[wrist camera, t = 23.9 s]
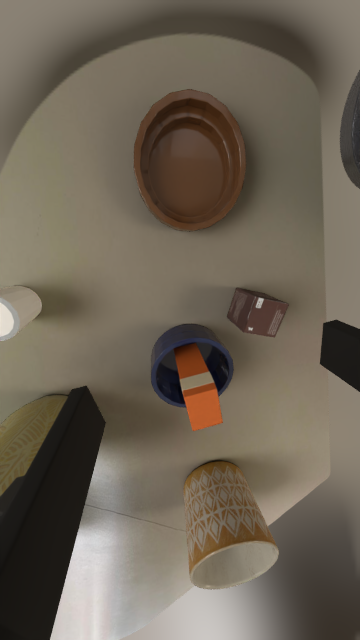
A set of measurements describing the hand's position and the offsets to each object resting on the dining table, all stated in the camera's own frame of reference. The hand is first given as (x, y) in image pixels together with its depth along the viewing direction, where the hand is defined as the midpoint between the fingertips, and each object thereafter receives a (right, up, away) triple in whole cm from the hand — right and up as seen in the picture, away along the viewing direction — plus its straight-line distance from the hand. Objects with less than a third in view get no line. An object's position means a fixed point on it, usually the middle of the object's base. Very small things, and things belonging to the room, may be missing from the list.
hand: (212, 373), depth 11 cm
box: (+11, +6, +26) cm, 29 cm away
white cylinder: (-27, +6, +21) cm, 35 cm away
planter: (+8, -43, +45) cm, 62 cm away
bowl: (-1, +24, +17) cm, 30 cm away
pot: (0, -5, +29) cm, 29 cm away
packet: (0, -5, +28) cm, 28 cm away
